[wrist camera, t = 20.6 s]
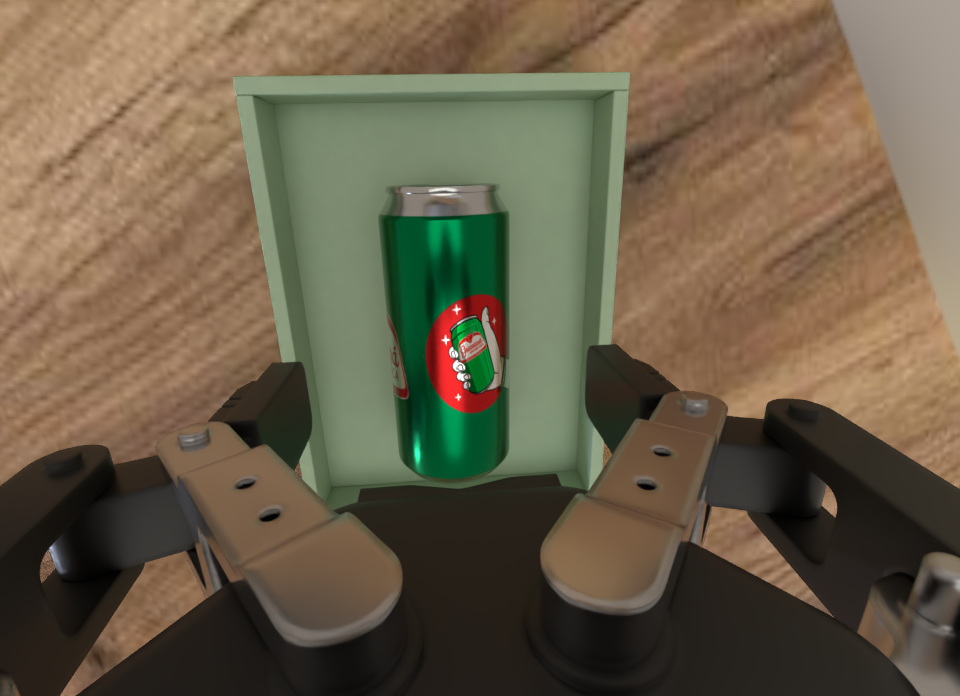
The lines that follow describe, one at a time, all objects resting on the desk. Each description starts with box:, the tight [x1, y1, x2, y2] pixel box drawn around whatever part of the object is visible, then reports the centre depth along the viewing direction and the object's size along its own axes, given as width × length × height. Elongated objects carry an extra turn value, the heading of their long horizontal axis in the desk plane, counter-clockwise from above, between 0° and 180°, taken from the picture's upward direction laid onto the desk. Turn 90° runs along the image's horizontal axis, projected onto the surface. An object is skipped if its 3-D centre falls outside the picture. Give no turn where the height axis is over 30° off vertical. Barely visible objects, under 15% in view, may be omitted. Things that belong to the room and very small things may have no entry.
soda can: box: [378, 183, 509, 484], centre depth 20 cm, size 5×5×12 cm
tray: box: [233, 72, 630, 510], centre depth 22 cm, size 19×14×3 cm
